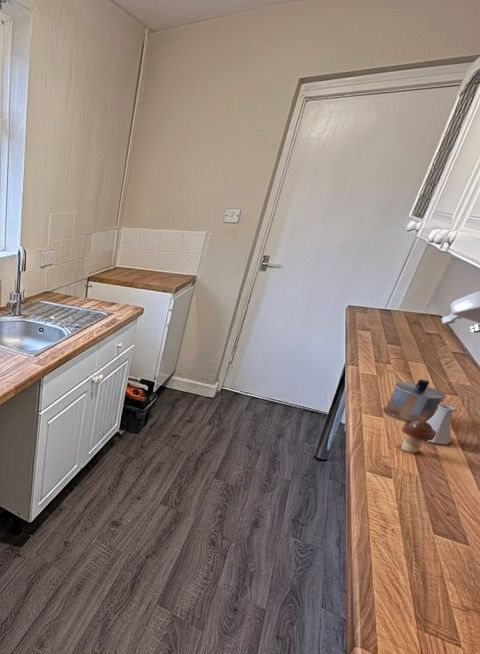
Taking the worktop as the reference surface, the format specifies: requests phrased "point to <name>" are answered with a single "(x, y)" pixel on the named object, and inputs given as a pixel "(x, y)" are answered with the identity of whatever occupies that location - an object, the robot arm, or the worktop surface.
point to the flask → (441, 424)
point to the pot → (411, 407)
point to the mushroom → (416, 435)
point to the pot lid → (420, 390)
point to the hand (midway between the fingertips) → (458, 325)
